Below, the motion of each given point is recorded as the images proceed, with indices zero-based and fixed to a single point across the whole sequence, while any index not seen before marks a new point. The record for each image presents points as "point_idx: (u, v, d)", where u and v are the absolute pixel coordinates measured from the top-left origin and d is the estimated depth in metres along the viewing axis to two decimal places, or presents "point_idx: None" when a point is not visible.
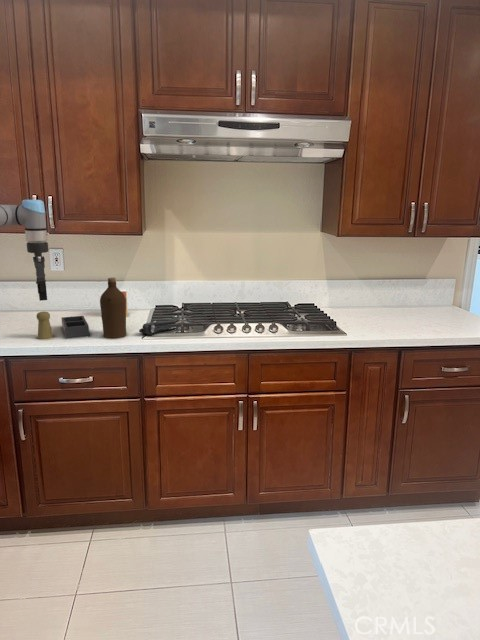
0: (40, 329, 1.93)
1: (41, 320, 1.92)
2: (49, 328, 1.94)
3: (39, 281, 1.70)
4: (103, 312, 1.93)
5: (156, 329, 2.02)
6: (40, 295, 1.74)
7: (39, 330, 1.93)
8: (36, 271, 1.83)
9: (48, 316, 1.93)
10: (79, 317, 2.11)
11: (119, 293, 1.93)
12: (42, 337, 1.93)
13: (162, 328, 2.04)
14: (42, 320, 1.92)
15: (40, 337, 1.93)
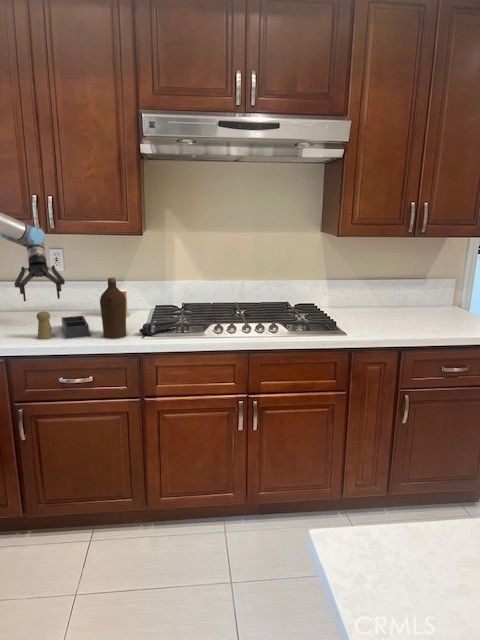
0: (40, 329, 1.93)
1: (41, 320, 1.92)
2: (49, 328, 1.94)
3: (15, 286, 2.01)
4: (103, 312, 1.93)
5: (156, 329, 2.02)
6: None
7: (39, 330, 1.93)
8: (52, 281, 2.08)
9: (48, 316, 1.93)
10: (79, 317, 2.11)
11: (119, 293, 1.93)
12: (42, 337, 1.93)
13: (162, 328, 2.04)
14: (42, 320, 1.92)
15: (40, 337, 1.93)
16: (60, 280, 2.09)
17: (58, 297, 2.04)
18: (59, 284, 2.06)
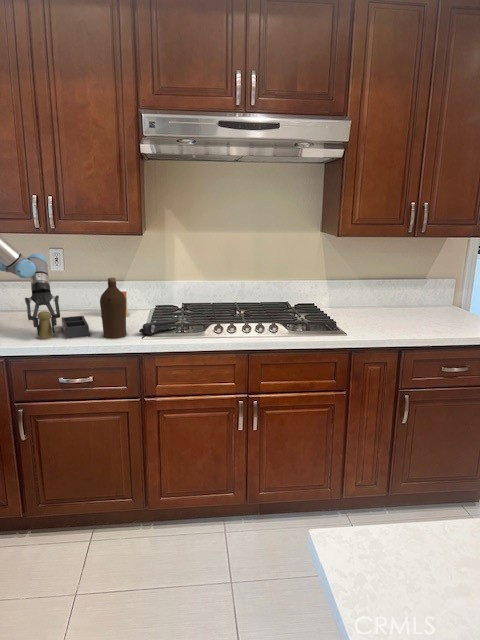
0: (40, 329, 1.93)
1: (42, 320, 1.92)
2: (49, 328, 1.94)
3: (28, 318, 1.93)
4: (103, 312, 1.93)
5: (156, 329, 2.02)
6: None
7: (39, 330, 1.93)
8: (50, 313, 1.98)
9: (49, 316, 1.93)
10: (79, 317, 2.11)
11: (119, 293, 1.93)
12: (42, 337, 1.93)
13: (162, 328, 2.04)
14: (42, 320, 1.92)
15: (40, 337, 1.93)
16: (57, 312, 1.98)
17: (53, 332, 1.93)
18: (54, 318, 1.95)
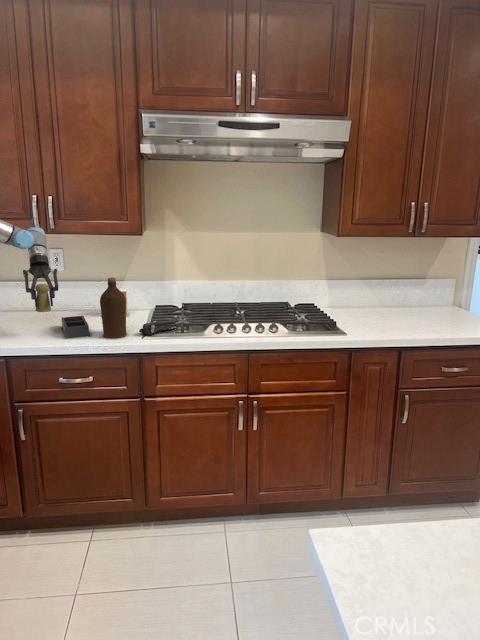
0: (38, 302, 1.90)
1: (40, 292, 1.89)
2: (47, 301, 1.91)
3: (26, 291, 1.90)
4: (103, 312, 1.93)
5: (156, 329, 2.02)
6: None
7: (37, 302, 1.90)
8: None
9: (47, 288, 1.90)
10: (79, 317, 2.11)
11: (119, 293, 1.93)
12: (40, 309, 1.90)
13: (162, 328, 2.04)
14: (40, 292, 1.89)
15: (38, 309, 1.90)
16: None
17: (51, 304, 1.90)
18: (52, 290, 1.92)
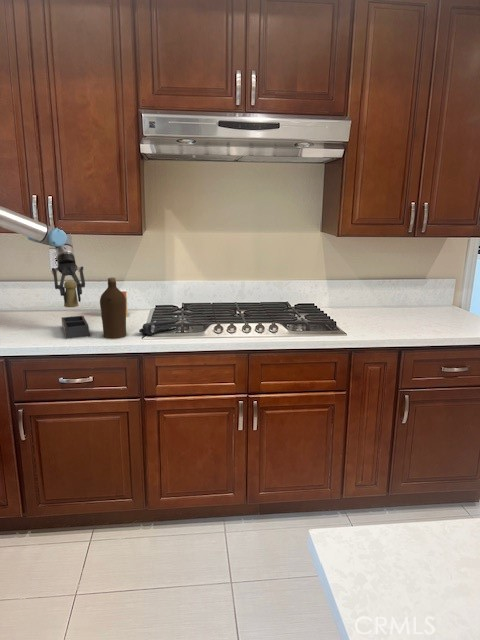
0: (67, 297, 2.02)
1: (68, 289, 2.01)
2: (75, 297, 2.03)
3: (55, 287, 2.02)
4: (103, 312, 1.93)
5: (156, 329, 2.02)
6: None
7: (66, 298, 2.02)
8: None
9: (75, 285, 2.02)
10: (79, 317, 2.11)
11: (119, 293, 1.93)
12: (68, 305, 2.02)
13: (162, 328, 2.04)
14: (69, 289, 2.01)
15: (67, 305, 2.02)
16: (82, 282, 2.08)
17: (79, 300, 2.02)
18: (80, 287, 2.04)
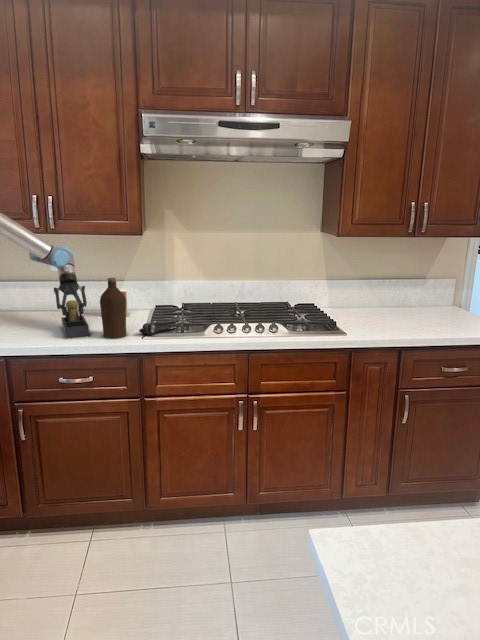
0: (68, 317, 2.04)
1: (70, 309, 2.03)
2: (77, 316, 2.06)
3: (57, 307, 2.05)
4: (103, 312, 1.93)
5: (156, 329, 2.02)
6: None
7: (68, 318, 2.04)
8: None
9: (77, 305, 2.04)
10: (79, 317, 2.11)
11: (119, 293, 1.93)
12: None
13: (162, 328, 2.04)
14: (71, 309, 2.03)
15: None
16: None
17: (81, 320, 2.04)
18: (81, 306, 2.07)
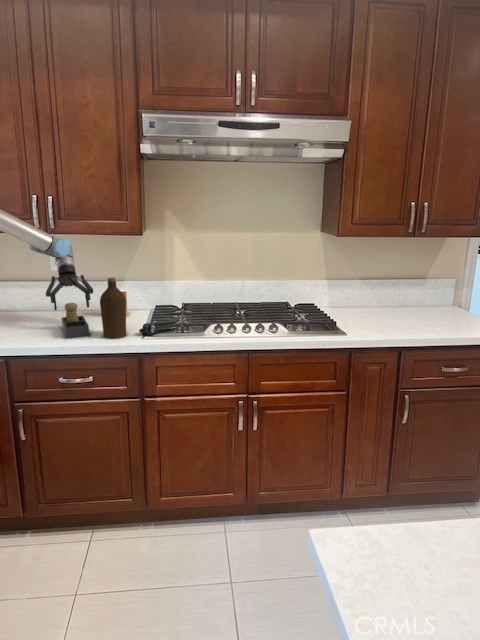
0: (68, 319, 2.04)
1: (69, 311, 2.04)
2: (76, 318, 2.06)
3: (46, 295, 2.06)
4: (103, 312, 1.93)
5: (156, 329, 2.02)
6: (54, 305, 2.05)
7: (67, 320, 2.05)
8: (81, 290, 2.13)
9: (76, 307, 2.04)
10: (79, 317, 2.11)
11: (119, 293, 1.93)
12: None
13: (162, 328, 2.04)
14: (70, 311, 2.03)
15: None
16: (89, 289, 2.14)
17: (87, 306, 2.09)
18: (88, 293, 2.11)
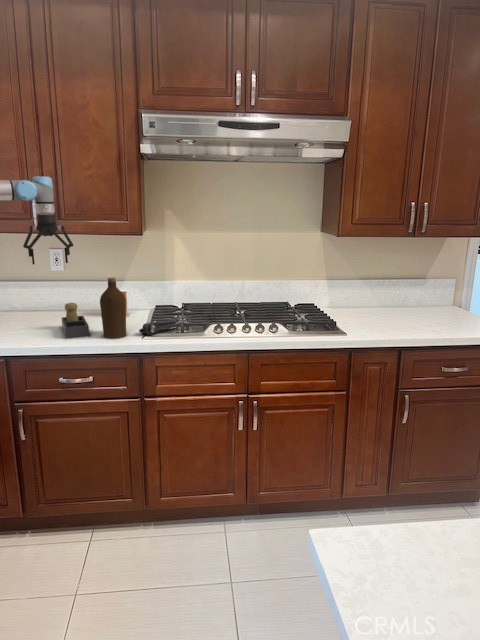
0: (68, 319, 2.04)
1: (69, 311, 2.04)
2: (76, 318, 2.06)
3: None
4: (103, 312, 1.93)
5: (156, 329, 2.02)
6: None
7: (67, 320, 2.05)
8: None
9: (75, 307, 2.04)
10: (79, 317, 2.11)
11: (119, 293, 1.93)
12: None
13: (162, 328, 2.04)
14: (70, 311, 2.03)
15: None
16: None
17: (66, 262, 2.08)
18: (68, 248, 2.06)
